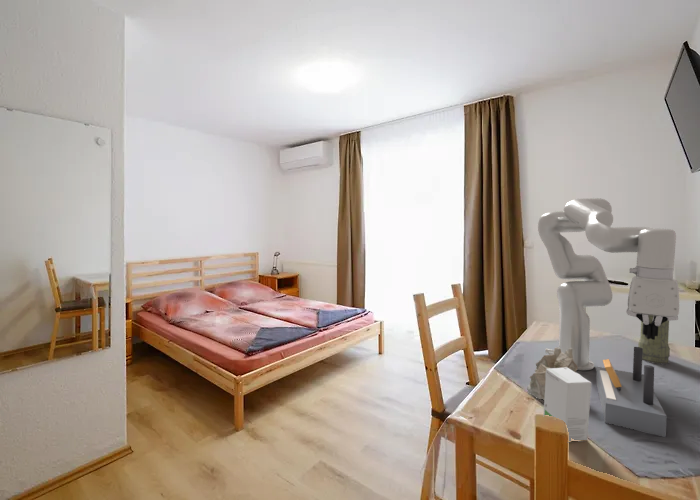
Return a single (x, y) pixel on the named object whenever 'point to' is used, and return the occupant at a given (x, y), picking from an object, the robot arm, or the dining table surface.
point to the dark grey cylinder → (637, 364)
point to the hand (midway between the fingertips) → (649, 337)
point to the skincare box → (568, 400)
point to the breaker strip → (629, 404)
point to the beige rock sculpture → (545, 363)
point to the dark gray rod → (648, 385)
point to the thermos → (656, 344)
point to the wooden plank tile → (612, 374)
